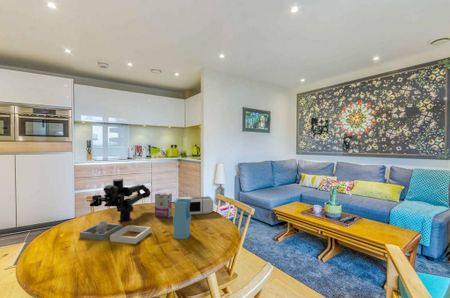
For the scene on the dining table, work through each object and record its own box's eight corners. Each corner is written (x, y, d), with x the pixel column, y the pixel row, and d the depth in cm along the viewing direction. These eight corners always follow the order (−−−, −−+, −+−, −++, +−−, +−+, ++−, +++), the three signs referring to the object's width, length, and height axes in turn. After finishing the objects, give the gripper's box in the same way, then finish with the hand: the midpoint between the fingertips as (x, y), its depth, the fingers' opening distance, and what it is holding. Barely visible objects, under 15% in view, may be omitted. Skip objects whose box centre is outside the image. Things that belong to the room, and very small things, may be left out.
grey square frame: (100, 227, 132) (100, 222, 132) (122, 229, 129) (122, 224, 129) (79, 237, 117) (79, 232, 117) (103, 240, 114) (103, 234, 114)
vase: (186, 239, 116) (186, 202, 116) (172, 238, 118) (172, 201, 117) (191, 233, 124) (191, 199, 123) (178, 232, 125) (178, 198, 125)
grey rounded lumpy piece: (110, 231, 127) (110, 219, 127) (104, 236, 120) (104, 223, 120) (99, 231, 126) (99, 219, 126) (93, 236, 119) (92, 223, 119)
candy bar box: (172, 216, 154) (172, 193, 154) (168, 218, 149) (168, 194, 149) (158, 214, 157) (158, 192, 157) (154, 216, 153) (154, 193, 152)
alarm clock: (175, 216, 154) (175, 200, 153) (175, 212, 163) (175, 197, 162) (213, 213, 160) (213, 198, 160) (211, 210, 169) (211, 195, 169)
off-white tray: (128, 230, 128) (128, 225, 128) (151, 232, 125) (151, 227, 125) (109, 241, 113) (109, 235, 113) (135, 243, 110) (135, 238, 110)
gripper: (101, 184, 136) (81, 191, 120) (128, 183, 133) (110, 191, 117) (103, 201, 137) (83, 210, 121) (129, 201, 134) (112, 211, 118)
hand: (97, 205), depth 120 cm, fingers open, 9 cm apart
